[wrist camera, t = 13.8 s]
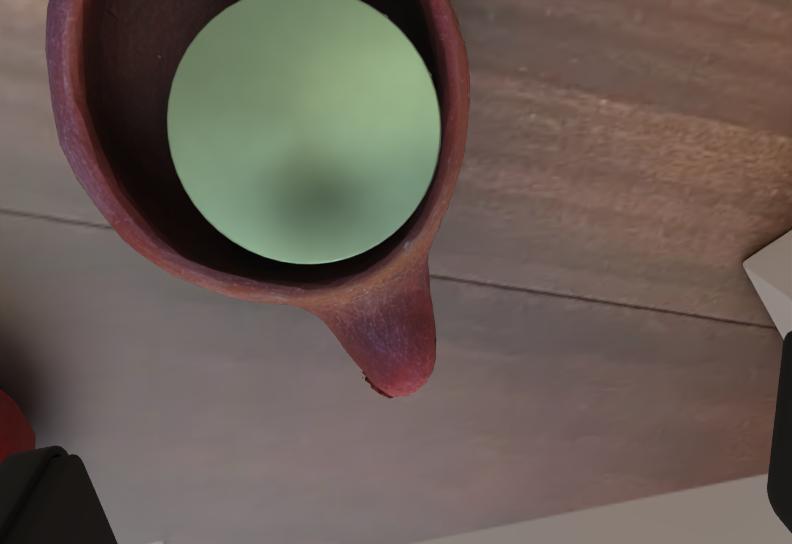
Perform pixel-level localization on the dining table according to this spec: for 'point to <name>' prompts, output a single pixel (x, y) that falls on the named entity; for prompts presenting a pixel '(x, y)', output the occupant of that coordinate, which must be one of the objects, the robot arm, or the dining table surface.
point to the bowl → (184, 224)
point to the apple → (13, 429)
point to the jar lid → (304, 127)
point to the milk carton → (774, 280)
